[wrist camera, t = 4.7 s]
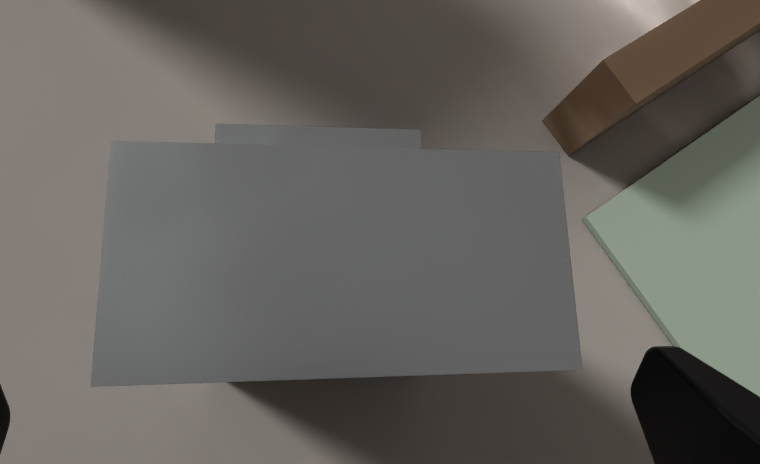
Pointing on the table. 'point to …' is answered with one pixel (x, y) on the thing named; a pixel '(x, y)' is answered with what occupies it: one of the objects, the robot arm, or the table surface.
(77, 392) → the table surface
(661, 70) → the brown wooden corner wall
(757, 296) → the mat
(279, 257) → the gray block
